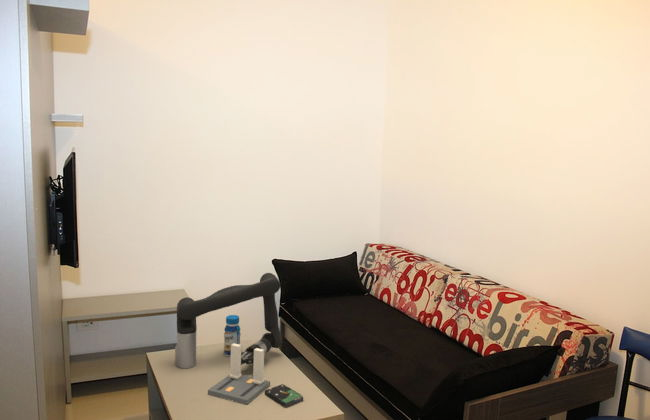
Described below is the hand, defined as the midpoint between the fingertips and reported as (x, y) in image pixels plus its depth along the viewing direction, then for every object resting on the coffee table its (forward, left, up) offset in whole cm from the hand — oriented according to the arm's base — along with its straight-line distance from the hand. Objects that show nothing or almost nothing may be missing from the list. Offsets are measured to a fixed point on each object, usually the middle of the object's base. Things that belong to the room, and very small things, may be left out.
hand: (237, 364), depth 244 cm
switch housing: (+6, -7, -8) cm, 12 cm away
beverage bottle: (-19, +25, -8) cm, 32 cm away
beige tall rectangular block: (+12, -1, -6) cm, 13 cm away
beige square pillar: (0, -1, -6) cm, 6 cm away
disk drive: (+27, -4, -9) cm, 29 cm away
